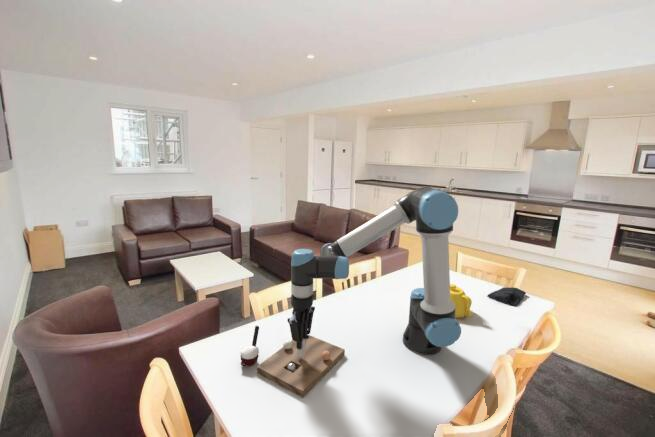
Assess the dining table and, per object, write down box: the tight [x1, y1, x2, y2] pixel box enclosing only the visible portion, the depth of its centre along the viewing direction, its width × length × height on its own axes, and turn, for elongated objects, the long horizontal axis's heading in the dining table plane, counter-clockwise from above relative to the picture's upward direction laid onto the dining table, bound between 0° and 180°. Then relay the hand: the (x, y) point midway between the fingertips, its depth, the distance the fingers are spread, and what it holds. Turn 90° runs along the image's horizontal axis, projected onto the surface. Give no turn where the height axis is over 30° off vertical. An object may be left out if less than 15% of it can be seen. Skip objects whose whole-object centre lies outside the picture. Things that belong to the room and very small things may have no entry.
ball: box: [287, 363, 296, 373], centre depth 109 cm, size 3×3×3 cm
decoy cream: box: [282, 339, 292, 349], centre depth 118 cm, size 3×3×3 cm
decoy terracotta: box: [322, 351, 331, 360], centre depth 112 cm, size 3×3×3 cm
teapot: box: [450, 283, 473, 319], centre depth 156 cm, size 25×18×14 cm
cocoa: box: [239, 325, 260, 367], centre depth 112 cm, size 10×6×12 cm, turn 133°
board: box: [256, 334, 346, 399], centre depth 113 cm, size 20×26×2 cm
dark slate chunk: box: [487, 286, 527, 307], centre depth 173 cm, size 15×22×5 cm
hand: (301, 355), depth 112 cm, fingers closed
